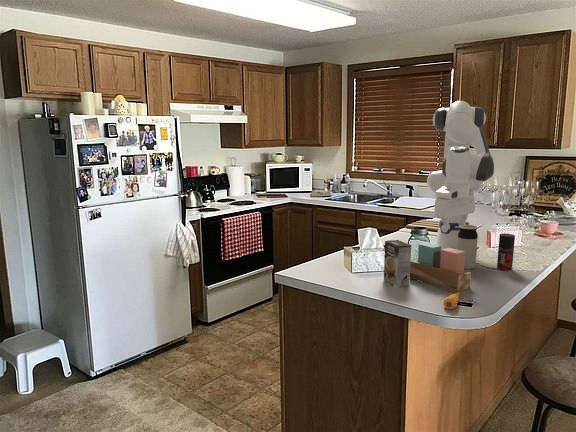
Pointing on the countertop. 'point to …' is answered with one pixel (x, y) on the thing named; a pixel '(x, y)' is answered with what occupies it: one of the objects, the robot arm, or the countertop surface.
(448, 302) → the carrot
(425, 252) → the teal rectangular block
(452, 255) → the salmon pink block
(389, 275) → the coffee box
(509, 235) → the deodorant
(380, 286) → the countertop surface
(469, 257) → the travel mug
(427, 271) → the brown wooden box
